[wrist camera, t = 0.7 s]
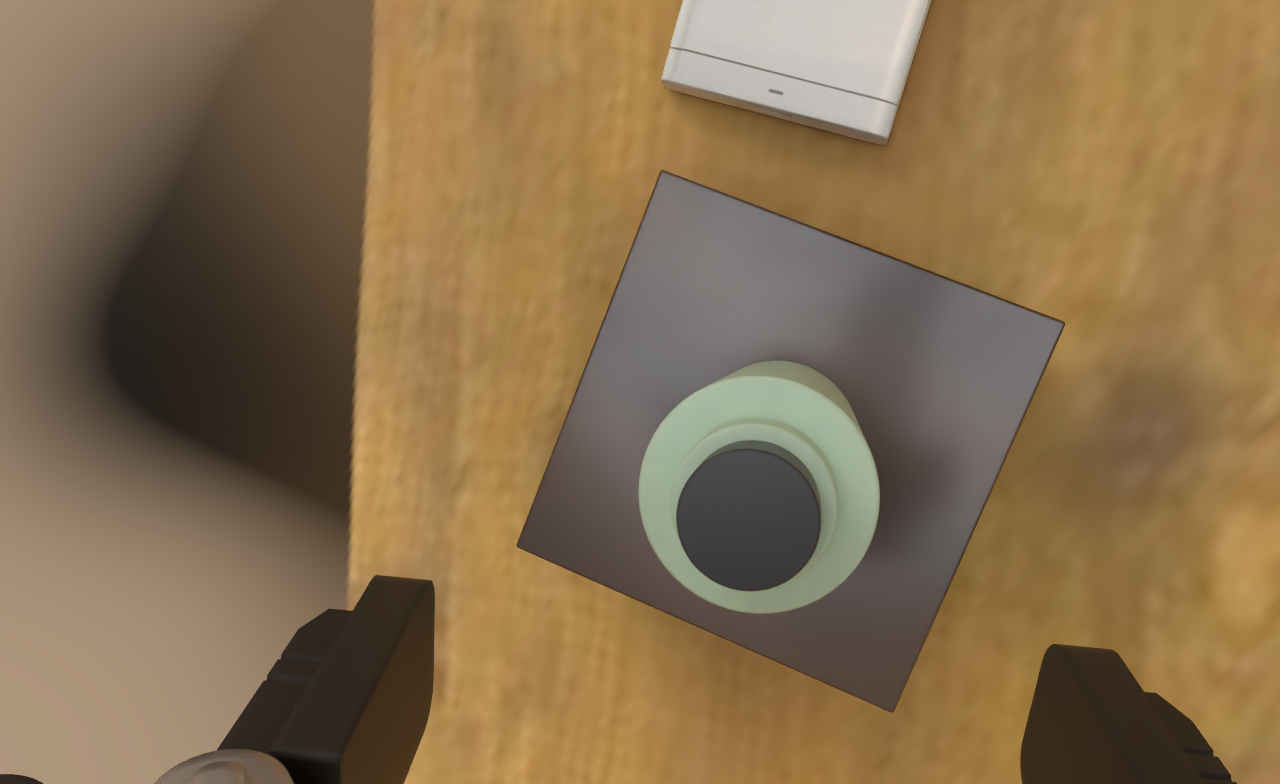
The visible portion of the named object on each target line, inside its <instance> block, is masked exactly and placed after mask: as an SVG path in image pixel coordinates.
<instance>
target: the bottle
mask: <svg viewBox="0 0 1280 784" xmlns="http://www.w3.org/2000/svg"><path fill="white" fill-rule="evenodd" d="M638 494H639V507H640V513H641V518H642V522H643V526H644V529H645V532H646V534H647V537H648V540H649V542H650V544H651V546H652V548H653V550H654V552H655V553H656V555H657V556H658V558H659V559H660V561H661V562H662V564H663V565H664V566H665V568H666V569H667V570H668V571H669V572H670V573H671V574H672V576H673V577H674V578H675V579H677V580H678V581H679V582H680V583H681V584H682V585H683V586H684V587H686V588H687V589H689V590H690V591H691V592H693V593H694V594H696V595H697V596H699V597H701V598H703V599H705V600H707V601H709V602H711V603H713V604H715V605H718V606H721V607H724V608H726V609H730V610H735V611H739V612H746V613H756V614H763V613H778V612H784V611H789V610H793V609H796V608H799V607H803V606H805V605H808V604H810V603H812V602H814V601H816V600H819V599H820V598H822V597H823V596H825V595H827V594H828V593H830V592H831V591H833V590H834V589H835V588H836V587H838V586H839V585H840V584H841V583H842V582H844V581H845V580H846V578H847V577H848V576H849V575H850V574H851V573H852V572H853V571H854V570H855V568H856V567H857V565H858V564H859V563H860V561H861V560H862V558H863V557H864V555H865V553H866V551H867V549H868V547H869V545H870V543H871V540H872V538H873V535H874V532H875V529H876V525H877V520H878V515H879V506H880V488H879V478H878V474H877V469H876V464H875V461H874V459H873V456H872V453H871V450H870V448H869V446H868V443H867V441H866V439H865V437H864V435H863V432H862V430H861V428H860V426H859V424H858V421H857V419H856V417H855V415H854V413H853V410H852V408H851V406H850V404H849V402H848V400H847V399H846V398H845V396H844V395H843V393H842V392H841V391H840V390H839V388H838V387H837V386H836V385H835V384H834V383H833V382H832V381H830V380H829V379H828V378H827V377H826V376H824V375H823V374H821V373H819V372H818V371H816V370H814V369H812V368H810V367H808V366H805V365H802V364H799V363H794V362H789V361H777V360H775V361H764V362H759V363H755V364H752V365H749V366H746V367H744V368H742V369H740V370H738V371H736V372H734V373H732V374H730V375H728V376H726V377H724V378H722V379H720V380H718V381H716V382H714V383H712V384H710V385H708V386H706V387H704V388H702V389H700V390H698V391H696V392H694V393H693V394H692V395H690V396H689V397H687V398H686V399H684V400H683V401H682V402H681V403H679V404H678V405H677V406H676V407H675V408H674V409H673V410H672V411H671V412H670V413H669V414H668V415H667V416H666V418H665V419H664V420H663V421H662V422H661V424H660V425H659V427H658V428H657V430H656V432H655V433H654V435H653V437H652V439H651V441H650V443H649V445H648V447H647V449H646V452H645V456H644V459H643V462H642V466H641V471H640V477H639V493H638Z"/></svg>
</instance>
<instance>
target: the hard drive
mask: <svg viewBox="0 0 1280 784" xmlns="http://www.w3.org/2000/svg"><path fill="white" fill-rule="evenodd" d="M930 3H931V0H683V2H682V5H681V9H680V12H679V16H678V19H677V23H676V26H675V30H674V33H673V37H672V41H671V45H670V50H669V53H668V56H667V60H666V63H665V67H664V71H663V74H662V77H661V81H662V83H663V85H664V87H665V88H668V89H671V90H674V91H677V92H681V93H685V94H688V95H692V96H696V97H700V98H703V99H707V100H711V101H715V102H719V103H723V104H726V105H731V106H734V107H738V108H742V109H746V110H749V111H754V112H757V113H761V114H765V115H769V116H772V117H776V118H780V119H784V120H788V121H791V122H795V123H799V124H802V125H806V126H810V127H814V128H818V129H822V130H825V131H829V132H833V133H836V134H840V135H844V136H847V137H851V138H855V139H858V140H863V141H867V142H871V143H875V144H880V145H885V144H886V142H887V140H888V137H889V135H890V132H891V128H892V125H893V122H894V119H895V115H896V112H897V108H898V105H899V102H900V99H901V96H902V93H903V89H904V86H905V83H906V80H907V77H908V74H909V70H910V67H911V64H912V61H913V57H914V54H915V51H916V48H917V45H918V42H919V39H920V35H921V32H922V29H923V26H924V22H925V19H926V16H927V13H928V10H929V6H930Z"/></svg>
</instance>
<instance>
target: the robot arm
mask: <svg viewBox="0 0 1280 784" xmlns="http://www.w3.org/2000/svg"><path fill="white" fill-rule="evenodd" d="M434 612H435V593H434V585H433V582H432V581H431V580H421V579H411V578H401V577H391V576H381V575H376V576H374V577H373V578H372V580H371V581H370V583H369V585H368V586H367V588H366V590H365V591H364V593H363V595H362V596H361V598H360V600H359V601H358V603H357V605H356V606H355V608H354V610H353V611H347V610H337V609H328V610H327V611H325V612H323V613H322V614H320V615H319V616H318V617H316V618H315V619H313V620H311V621H310V622H308V623H307V624H305V625H304V626H303V627H301V628H299V629H298V631H297V632H296V634H295V635H294V637H293V638H292V640H291V641H290V643H289V644H288V646H287V647H286V649H285V650H284V651H283V653H282V655H281V660H277V662H276V663H275V665H274V666H273V668H272V669H271V671H270V672H269V674H268V675H267V680H266V681H263V683H262V684H261V686H260V687H259V689H258V690H257V691H256V693H255V694H254V696H253V697H252V699H251V700H250V702H249V703H248V705H247V706H246V708H245V709H244V711H243V712H242V714H241V715H240V717H239V718H238V720H237V721H236V723H235V724H234V725H233V727H232V729H231V730H230V732H229V733H228V734H227V736H226V737H225V739H224V740H223V742H222V743H221V745H220V746H219V748H218V749H217V751H213V752H209V753H205V754H202V755H199V756H196V757H193V758H191V759H188V760H186V761H184V762H182V763H180V764H178V765H177V766H175V767H173V768H172V769H170V770H169V771H167V772H166V773H165V774H164V775H162V776H161V777H160V778H159V779H158V780H157V781H156V782H155V783H154V784H404V781H405V779H406V776H407V774H408V771H409V769H410V766H411V764H412V761H413V759H414V756H415V754H416V751H417V749H418V746H419V744H420V741H421V738H422V736H423V733H424V731H425V728H426V724H427V721H428V717H429V712H430V707H431V700H432V693H433V676H434ZM1021 777H1022V783H1023V784H1237V783H1236V782H1232V781H1231V775H1230V773H1229V772H1228V770H1227V769H1226V768H1225V766H1224V765H1223V764H1222V762H1221V761H1220V759H1219V758H1218V757H1214V756H1213V750H1212V748H1211V747H1210V745H1209V744H1208V743H1207V741H1206V740H1205V738H1204V737H1203V736H1202V734H1201V733H1200V731H1199V730H1198V729H1197V727H1196V726H1195V724H1194V723H1193V722H1192V721H1191V720H1190V719H1189V718H1188V717H1186V716H1185V715H1184V714H1182V713H1181V712H1180V711H1179V710H1177V709H1176V708H1175V707H1174V706H1172V705H1171V704H1170V703H1168V702H1167V701H1166V700H1165V699H1163V698H1162V697H1161V696H1160V695H1158V694H1157V693H1148V692H1144V691H1143V690H1142V688H1141V687H1140V685H1139V684H1138V682H1137V681H1136V679H1135V678H1134V676H1133V675H1132V674H1131V672H1130V671H1129V669H1128V668H1127V666H1126V665H1125V663H1124V662H1123V660H1122V659H1121V657H1120V656H1119V655H1118V653H1117V652H1115V651H1114V650H1111V649H1101V648H1091V647H1081V646H1070V645H1060V644H1053V645H1051V646H1050V647H1049V648H1048V649H1047V651H1046V652H1045V655H1044V657H1043V661H1042V664H1041V668H1040V672H1039V677H1038V681H1037V685H1036V689H1035V693H1034V697H1033V701H1032V705H1031V709H1030V713H1029V717H1028V721H1027V725H1026V729H1025V733H1024V737H1023V742H1022V747H1021ZM0 784H43V783H41V782H39V781H37V780H36V779H33V778H29V777H26V776H21V775H13V774H2V775H1V774H0Z"/></svg>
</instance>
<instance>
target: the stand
mask: <svg viewBox="0 0 1280 784" xmlns="http://www.w3.org/2000/svg"><path fill="white" fill-rule="evenodd" d="M1064 326H1065V323H1064V322H1063V321H1061V320H1058V319H1055V318H1053V317H1050V316H1047V315H1045V314H1042V313H1040V312H1037V311H1034V310H1032V309H1029V308H1026V307H1024V306H1021V305H1018V304H1016V303H1013V302H1011V301H1008V300H1005V299H1003V298H1000V297H997V296H995V295H992V294H989V293H987V292H984V291H981V290H979V289H976V288H974V287H971V286H968V285H966V284H963V283H960V282H958V281H955V280H952V279H950V278H947V277H944V276H942V275H939V274H937V273H934V272H931V271H929V270H926V269H923V268H921V267H918V266H915V265H913V264H910V263H907V262H905V261H902V260H900V259H897V258H894V257H892V256H889V255H886V254H884V253H881V252H878V251H876V250H873V249H870V248H868V247H865V246H863V245H860V244H857V243H855V242H852V241H849V240H847V239H844V238H841V237H839V236H836V235H834V234H831V233H828V232H826V231H823V230H820V229H818V228H815V227H812V226H810V225H807V224H804V223H802V222H799V221H797V220H794V219H791V218H789V217H786V216H783V215H781V214H778V213H775V212H773V211H770V210H767V209H765V208H762V207H760V206H757V205H754V204H752V203H749V202H746V201H744V200H741V199H738V198H736V197H733V196H730V195H728V194H725V193H723V192H720V191H717V190H715V189H712V188H709V187H707V186H704V185H701V184H699V183H696V182H694V181H691V180H688V179H686V178H683V177H680V176H678V175H675V174H672V173H670V172H667V171H664V170H661V171H660V174H659V176H658V179H657V181H656V184H655V187H654V189H653V192H652V194H651V197H650V200H649V202H648V205H647V207H646V210H645V213H644V215H643V218H642V220H641V223H640V226H639V228H638V231H637V233H636V236H635V239H634V241H633V244H632V246H631V249H630V252H629V254H628V257H627V259H626V262H625V265H624V267H623V270H622V272H621V275H620V278H619V280H618V283H617V285H616V288H615V291H614V293H613V296H612V298H611V301H610V304H609V306H608V309H607V311H606V314H605V317H604V319H603V322H602V324H601V327H600V330H599V332H598V335H597V337H596V340H595V343H594V345H593V348H592V350H591V353H590V356H589V358H588V361H587V363H586V366H585V368H584V371H583V374H582V376H581V379H580V381H579V384H578V387H577V389H576V392H575V394H574V397H573V400H572V402H571V405H570V407H569V410H568V413H567V415H566V418H565V420H564V423H563V426H562V428H561V431H560V433H559V436H558V439H557V441H556V444H555V446H554V449H553V452H552V454H551V457H550V459H549V462H548V465H547V467H546V470H545V472H544V475H543V478H542V480H541V483H540V485H539V488H538V491H537V493H536V496H535V498H534V501H533V504H532V506H531V509H530V511H529V514H528V517H527V519H526V522H525V524H524V527H523V530H522V532H521V535H520V537H519V540H518V543H517V547H518V548H520V549H522V550H525V551H527V552H529V553H531V554H534V555H536V556H538V557H540V558H543V559H545V560H547V561H549V562H552V563H554V564H556V565H558V566H561V567H563V568H565V569H568V570H570V571H572V572H574V573H577V574H579V575H581V576H583V577H586V578H588V579H590V580H592V581H595V582H597V583H599V584H601V585H604V586H606V587H608V588H611V589H613V590H615V591H617V592H620V593H622V594H624V595H626V596H629V597H631V598H633V599H635V600H638V601H640V602H642V603H644V604H647V605H649V606H651V607H654V608H656V609H658V610H660V611H663V612H665V613H667V614H669V615H672V616H674V617H676V618H678V619H681V620H683V621H685V622H687V623H690V624H692V625H694V626H696V627H699V628H701V629H703V630H706V631H708V632H710V633H712V634H715V635H717V636H719V637H721V638H724V639H726V640H728V641H730V642H733V643H735V644H737V645H739V646H742V647H744V648H746V649H749V650H751V651H753V652H755V653H758V654H760V655H762V656H764V657H767V658H769V659H771V660H773V661H776V662H778V663H780V664H782V665H785V666H787V667H789V668H792V669H794V670H796V671H798V672H801V673H803V674H805V675H807V676H810V677H812V678H814V679H816V680H819V681H821V682H823V683H825V684H828V685H830V686H832V687H835V688H837V689H839V690H841V691H844V692H846V693H848V694H850V695H853V696H855V697H857V698H859V699H862V700H864V701H866V702H868V703H871V704H873V705H875V706H877V707H880V708H882V709H884V710H887V711H889V712H892V713H893V712H894V711H895V708H896V706H897V704H898V702H899V699H900V697H901V695H902V692H903V690H904V688H905V686H906V683H907V681H908V679H909V677H910V674H911V672H912V670H913V668H914V665H915V663H916V661H917V659H918V656H919V654H920V652H921V649H922V647H923V645H924V643H925V640H926V638H927V636H928V634H929V631H930V629H931V627H932V625H933V622H934V620H935V618H936V616H937V613H938V611H939V609H940V607H941V604H942V602H943V600H944V597H945V595H946V593H947V591H948V588H949V586H950V584H951V582H952V579H953V577H954V575H955V573H956V570H957V568H958V566H959V564H960V561H961V559H962V557H963V554H964V552H965V550H966V548H967V545H968V543H969V541H970V539H971V536H972V534H973V532H974V530H975V527H976V525H977V523H978V521H979V518H980V516H981V514H982V511H983V509H984V507H985V505H986V502H987V500H988V498H989V496H990V493H991V491H992V489H993V487H994V484H995V482H996V480H997V478H998V475H999V473H1000V471H1001V469H1002V466H1003V464H1004V462H1005V459H1006V457H1007V455H1008V453H1009V450H1010V448H1011V446H1012V444H1013V441H1014V439H1015V437H1016V435H1017V432H1018V430H1019V428H1020V426H1021V423H1022V421H1023V419H1024V416H1025V414H1026V412H1027V410H1028V407H1029V405H1030V403H1031V401H1032V398H1033V396H1034V394H1035V392H1036V389H1037V387H1038V385H1039V383H1040V380H1041V378H1042V376H1043V374H1044V371H1045V369H1046V367H1047V364H1048V362H1049V360H1050V358H1051V355H1052V353H1053V351H1054V349H1055V346H1056V344H1057V342H1058V340H1059V337H1060V335H1061V333H1062V331H1063V328H1064ZM775 360H777V361H789V362H794V363H799V364H802V365H805V366H808V367H810V368H812V369H814V370H816V371H818V372H819V373H821V374H823V375H824V376H826V377H827V378H828V379H829V380H830V381H832V382H833V383H834V384H835V385H836V386H837V387H838V388H839V390H840V391H841V392H842V393H843V395H844V396H845V398H846V399H847V400H848V402H849V404H850V406H851V408H852V410H853V413H854V415H855V417H856V419H857V421H858V424H859V426H860V428H861V430H862V432H863V435H864V437H865V439H866V441H867V443H868V446H869V448H870V450H871V453H872V456H873V459H874V461H875V464H876V469H877V474H878V478H879V488H880V506H879V515H878V520H877V525H876V529H875V532H874V535H873V538H872V540H871V543H870V545H869V547H868V549H867V551H866V553H865V555H864V557H863V558H862V560H861V561H860V563H859V564H858V565H857V567H856V568H855V570H854V571H853V572H852V573H851V574H850V575H849V576H848V577H847V578H846V580H845V581H844V582H842V583H841V584H840V585H839V586H838V587H836V588H835V589H834V590H833V591H831V592H830V593H828V594H827V595H825V596H823V597H822V598H820V599H819V600H816V601H814V602H812V603H810V604H808V605H805V606H803V607H799V608H796V609H793V610H789V611H784V612H778V613H763V614H756V613H746V612H739V611H735V610H730V609H726V608H724V607H721V606H718V605H715V604H713V603H711V602H709V601H707V600H705V599H703V598H701V597H699V596H697V595H696V594H694V593H693V592H691V591H690V590H689V589H687V588H686V587H684V586H683V585H682V584H681V583H680V582H679V581H678V580H677V579H675V578H674V577H673V576H672V574H671V573H670V572H669V571H668V570H667V569H666V568H665V566H664V565H663V564H662V562H661V561H660V559H659V558H658V556H657V555H656V553H655V552H654V550H653V548H652V546H651V544H650V542H649V540H648V537H647V534H646V532H645V529H644V526H643V522H642V518H641V513H640V507H639V494H638V493H639V477H640V471H641V466H642V462H643V459H644V456H645V452H646V449H647V447H648V445H649V443H650V441H651V439H652V437H653V435H654V433H655V432H656V430H657V428H658V427H659V425H660V424H661V422H662V421H663V420H664V419H665V418H666V416H667V415H668V414H669V413H670V412H671V411H672V410H673V409H674V408H675V407H676V406H677V405H678V404H679V403H681V402H682V401H683V400H684V399H686V398H687V397H689V396H690V395H692V394H693V393H694V392H696V391H698V390H700V389H702V388H704V387H706V386H708V385H710V384H712V383H714V382H716V381H718V380H720V379H722V378H724V377H726V376H728V375H730V374H732V373H734V372H736V371H738V370H740V369H742V368H744V367H746V366H749V365H752V364H755V363H759V362H764V361H775Z"/></svg>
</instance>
